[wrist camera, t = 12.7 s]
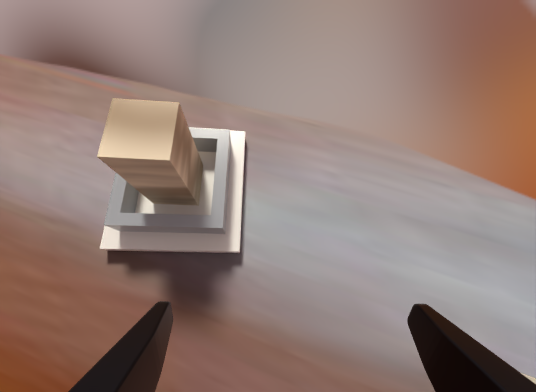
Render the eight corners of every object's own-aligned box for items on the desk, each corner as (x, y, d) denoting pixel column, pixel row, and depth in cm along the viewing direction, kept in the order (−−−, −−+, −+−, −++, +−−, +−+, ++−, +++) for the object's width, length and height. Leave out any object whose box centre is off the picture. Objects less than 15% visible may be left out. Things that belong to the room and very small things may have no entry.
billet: (198, 205, 23) (169, 160, 15) (153, 203, 23) (97, 156, 14) (203, 165, 24) (179, 102, 16) (160, 163, 24) (112, 98, 16)
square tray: (239, 253, 23) (238, 247, 20) (107, 250, 22) (81, 244, 19) (245, 137, 27) (244, 116, 24) (132, 132, 26) (114, 109, 23)
